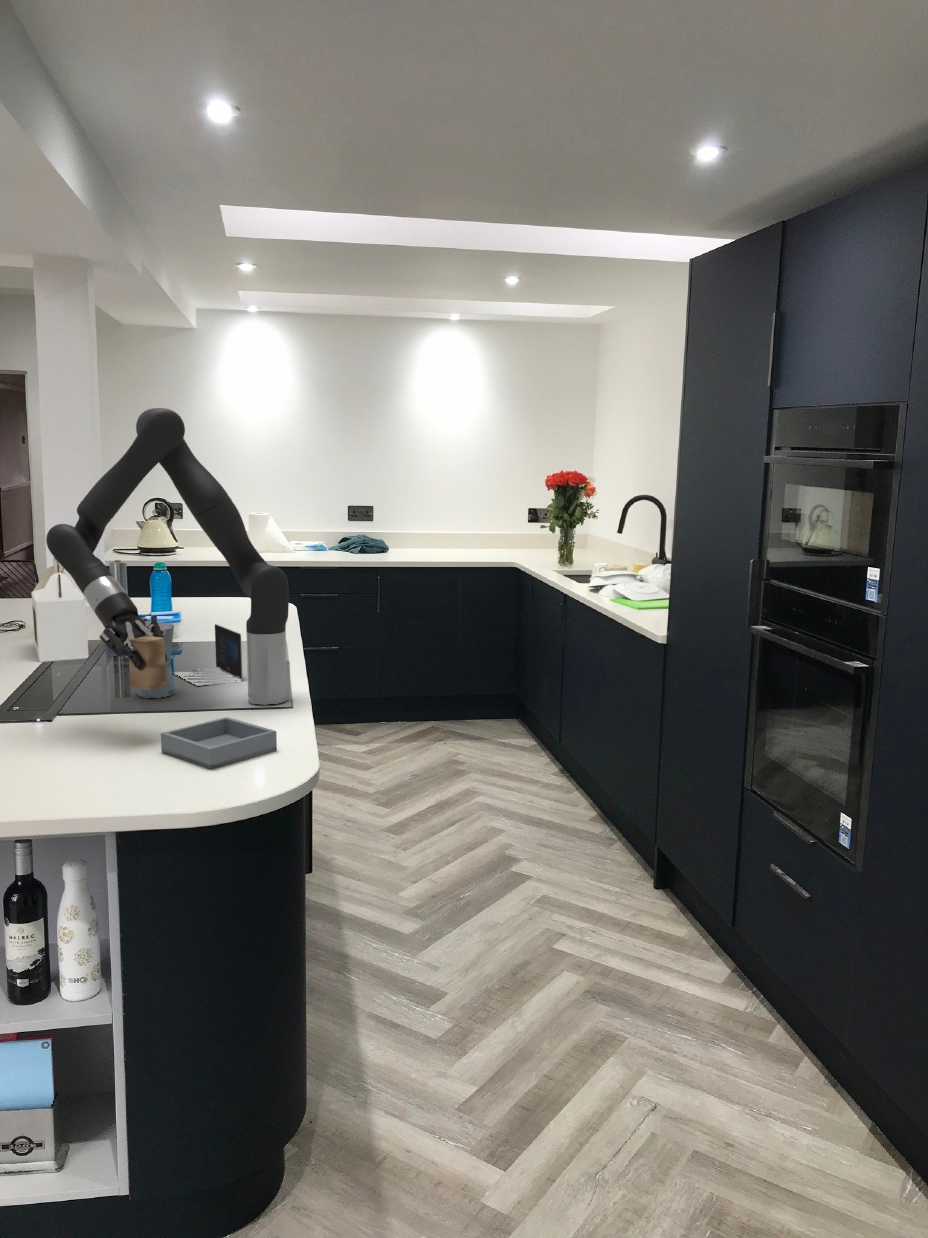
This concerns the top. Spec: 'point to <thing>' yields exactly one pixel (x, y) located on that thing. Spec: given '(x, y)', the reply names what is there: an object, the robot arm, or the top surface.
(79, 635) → the gable box
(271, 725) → the top surface
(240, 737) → the box
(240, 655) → the laptop
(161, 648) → the walnut block
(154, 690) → the moka pot
